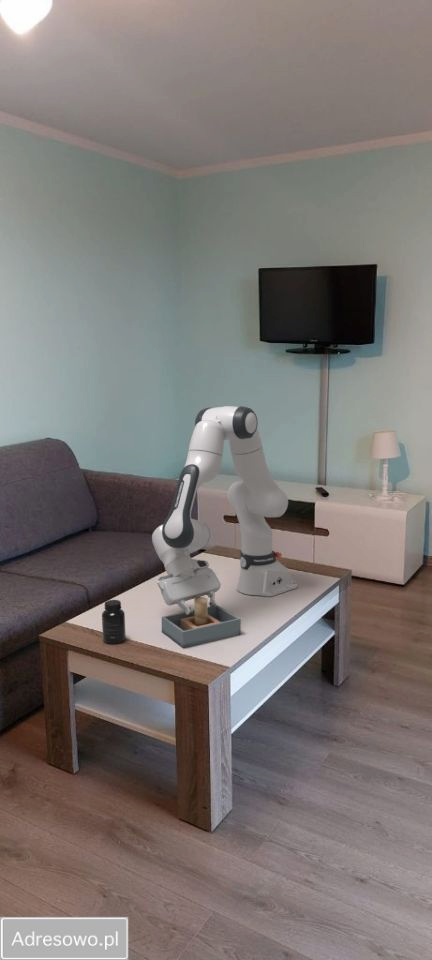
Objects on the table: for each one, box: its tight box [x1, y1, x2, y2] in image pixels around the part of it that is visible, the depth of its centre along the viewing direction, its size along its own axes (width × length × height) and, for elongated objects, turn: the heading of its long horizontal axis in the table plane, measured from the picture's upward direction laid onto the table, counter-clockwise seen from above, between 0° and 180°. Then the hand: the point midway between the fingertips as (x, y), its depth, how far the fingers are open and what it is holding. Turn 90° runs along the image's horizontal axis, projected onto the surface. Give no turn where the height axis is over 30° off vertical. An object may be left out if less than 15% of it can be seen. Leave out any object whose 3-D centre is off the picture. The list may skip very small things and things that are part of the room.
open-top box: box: [161, 604, 242, 649], centre depth 223 cm, size 20×14×5 cm
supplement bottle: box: [101, 599, 126, 645], centre depth 218 cm, size 7×7×12 cm
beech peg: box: [193, 596, 209, 626], centre depth 222 cm, size 4×4×10 cm
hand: (202, 609), depth 221 cm, fingers open, 8 cm apart
